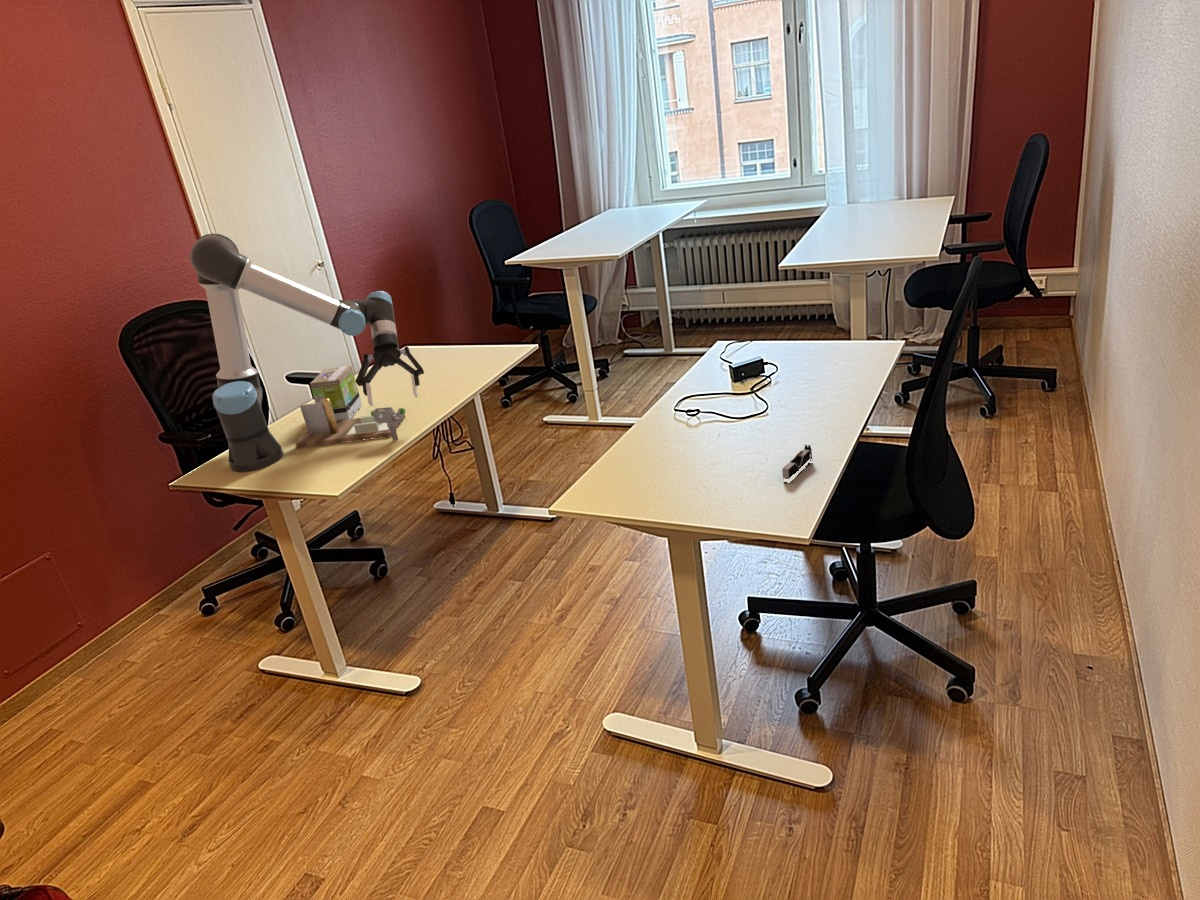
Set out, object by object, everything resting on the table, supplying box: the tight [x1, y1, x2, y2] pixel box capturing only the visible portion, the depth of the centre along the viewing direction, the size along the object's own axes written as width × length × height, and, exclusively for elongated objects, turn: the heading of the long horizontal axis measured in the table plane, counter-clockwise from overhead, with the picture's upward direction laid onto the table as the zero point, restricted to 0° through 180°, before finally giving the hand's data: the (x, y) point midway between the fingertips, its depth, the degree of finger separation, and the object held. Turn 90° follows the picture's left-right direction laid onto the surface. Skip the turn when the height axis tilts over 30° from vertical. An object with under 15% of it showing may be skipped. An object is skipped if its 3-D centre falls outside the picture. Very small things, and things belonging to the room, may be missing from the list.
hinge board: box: [295, 398, 406, 449], centre depth 248 cm, size 30×16×12 cm, turn 88°
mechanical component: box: [370, 406, 406, 442], centre depth 237 cm, size 3×10×10 cm, turn 79°
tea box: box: [309, 365, 363, 421], centre depth 264 cm, size 15×10×15 cm
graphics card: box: [781, 444, 813, 479], centre depth 183 cm, size 12×3×5 cm, turn 141°
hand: (393, 399), depth 241 cm, fingers open, 13 cm apart
